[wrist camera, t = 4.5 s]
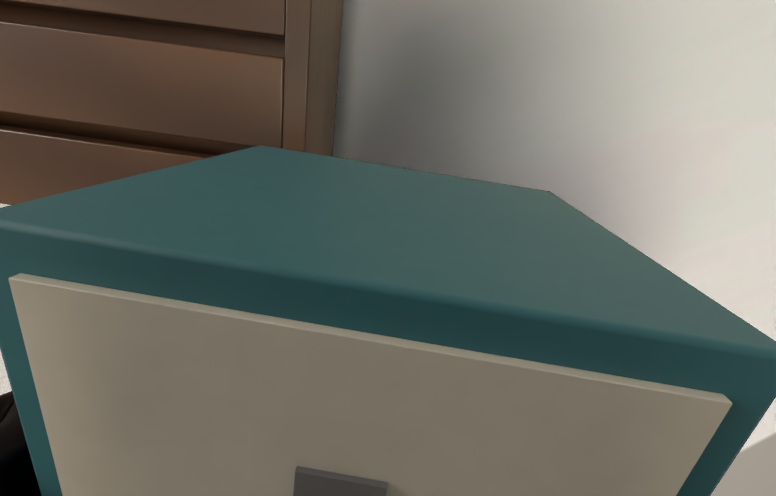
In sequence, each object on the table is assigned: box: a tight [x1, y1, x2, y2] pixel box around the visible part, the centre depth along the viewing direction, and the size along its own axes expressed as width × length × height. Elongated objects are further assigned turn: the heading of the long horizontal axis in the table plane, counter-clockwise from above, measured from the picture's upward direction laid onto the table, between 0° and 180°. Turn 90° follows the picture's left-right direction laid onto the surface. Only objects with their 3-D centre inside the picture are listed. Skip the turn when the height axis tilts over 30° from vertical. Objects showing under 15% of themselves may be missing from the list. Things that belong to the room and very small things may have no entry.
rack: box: [0, 0, 343, 205], centre depth 13 cm, size 14×18×8 cm
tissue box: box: [0, 145, 776, 496], centre depth 7 cm, size 8×6×6 cm
